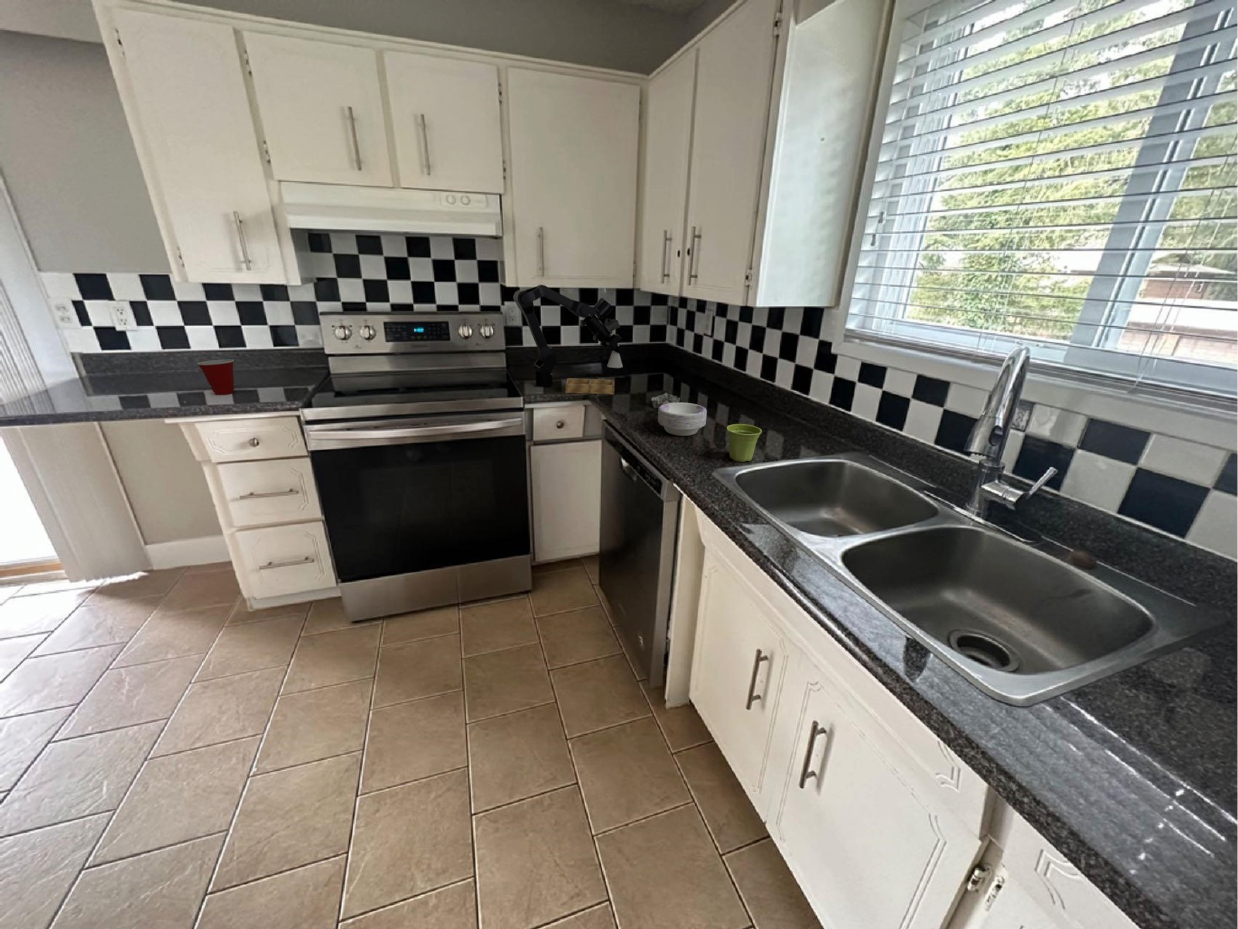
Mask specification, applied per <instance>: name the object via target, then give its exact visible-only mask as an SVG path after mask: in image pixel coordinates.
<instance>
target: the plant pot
mask: <svg viewBox="0 0 1238 929" xmlns="http://www.w3.org/2000/svg"><path fill="white" fill-rule="evenodd" d="M726 430H727V434H728V440H729V441H728V444H729V445H728V446H729V459H732V460H733V461H735V462H740V463H744V462H750V461H752V460H753V456H754V452H755V450H756V445H757V442H758V439H759V437H760V436H761V434H762V432H763V430H762V429H761V428H760V427H758V426H755V425H751V424H745V423H735V424H734V423H733V424H730V425H727V427H726Z"/></svg>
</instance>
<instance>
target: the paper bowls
mask: <svg viewBox="0 0 1238 929" xmlns="http://www.w3.org/2000/svg"><path fill="white" fill-rule="evenodd" d="M657 412H658V413H657V414H658V415H657V422H658V424H659V425H660V426H663V429H664V430H665V432H667V433H668V434H670V435H674V436H679V437H689V436H693V435H696V434H697V433H698V431H699V430H700V428H703V427H705V426H706V424H707V413H708V410H707V408H706V407H704V406H703V405H700V404H696V403H690V402H678V403H667V404H663V405H661V406H660V407H659V408H658V411H657Z"/></svg>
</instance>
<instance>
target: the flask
mask: <svg viewBox="0 0 1238 929" xmlns="http://www.w3.org/2000/svg"><path fill="white" fill-rule="evenodd" d="M618 346H619V347H620V343H618ZM606 367H607V368H613V369H621V368H623V362H622V359H621V355H620V353H617V352H615V351H613V350H611V353H610V357H609V359H608V362H607V365H606Z"/></svg>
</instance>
